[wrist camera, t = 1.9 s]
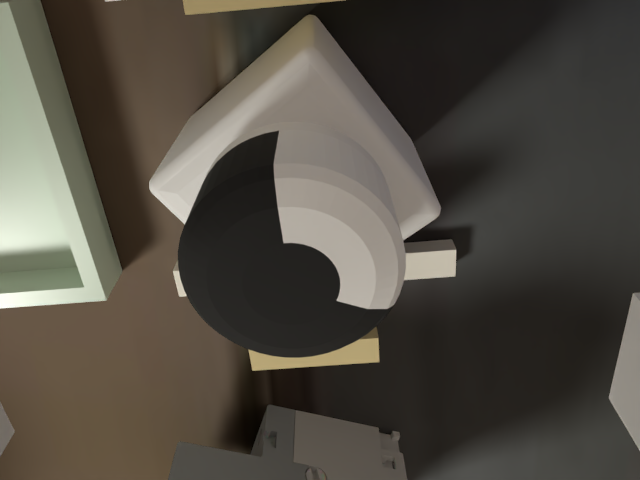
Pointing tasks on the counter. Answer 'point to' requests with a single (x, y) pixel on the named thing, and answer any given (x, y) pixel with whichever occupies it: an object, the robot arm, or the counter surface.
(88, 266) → the tray
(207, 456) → the circuit breaker
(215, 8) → the fuse holder
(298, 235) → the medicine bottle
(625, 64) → the counter surface
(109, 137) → the counter surface
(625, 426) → the robot arm
